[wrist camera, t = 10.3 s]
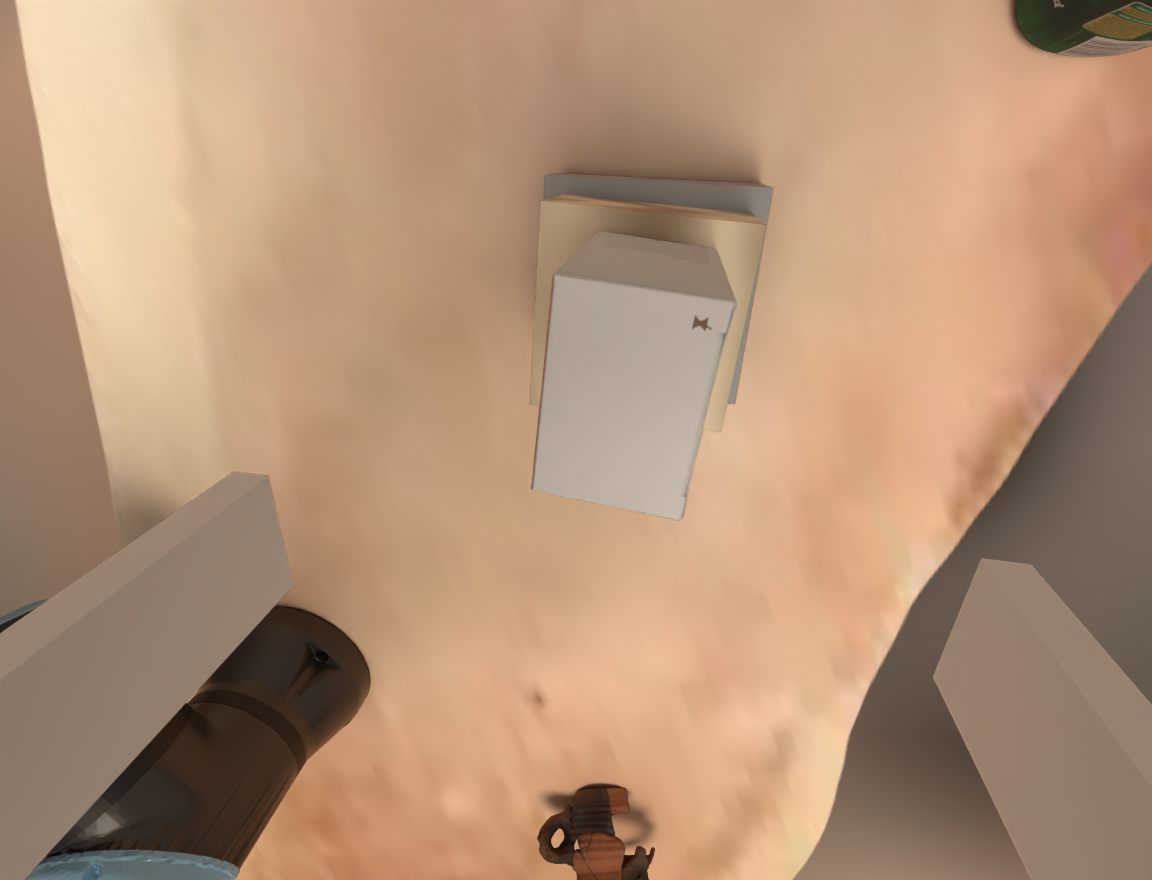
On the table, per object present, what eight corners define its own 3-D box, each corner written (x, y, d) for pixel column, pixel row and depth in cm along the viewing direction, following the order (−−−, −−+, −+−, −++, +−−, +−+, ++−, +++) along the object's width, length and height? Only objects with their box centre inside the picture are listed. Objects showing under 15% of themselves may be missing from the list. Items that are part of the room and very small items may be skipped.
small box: (597, 228, 27) (550, 264, 17) (720, 247, 26) (741, 295, 17) (574, 391, 30) (525, 494, 21) (683, 411, 30) (682, 526, 20)
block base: (558, 355, 42) (540, 384, 37) (564, 172, 37) (544, 175, 32) (728, 372, 41) (734, 404, 35) (760, 183, 35) (773, 187, 30)
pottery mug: (655, 783, 60) (666, 883, 56) (637, 793, 68) (646, 882, 63) (538, 788, 59) (539, 891, 54) (534, 798, 67) (534, 889, 62)
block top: (552, 368, 36) (529, 404, 31) (565, 193, 32) (541, 200, 26) (715, 390, 35) (720, 432, 30) (752, 213, 31) (766, 224, 25)
